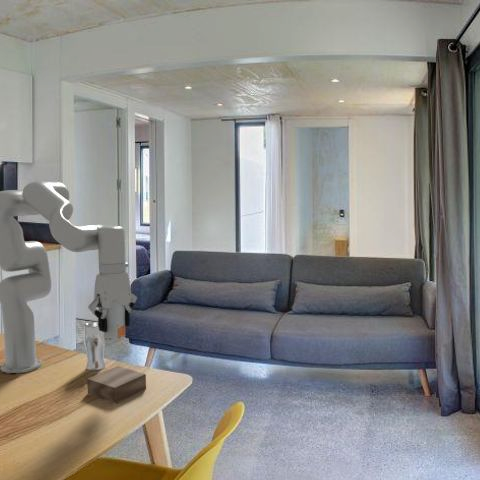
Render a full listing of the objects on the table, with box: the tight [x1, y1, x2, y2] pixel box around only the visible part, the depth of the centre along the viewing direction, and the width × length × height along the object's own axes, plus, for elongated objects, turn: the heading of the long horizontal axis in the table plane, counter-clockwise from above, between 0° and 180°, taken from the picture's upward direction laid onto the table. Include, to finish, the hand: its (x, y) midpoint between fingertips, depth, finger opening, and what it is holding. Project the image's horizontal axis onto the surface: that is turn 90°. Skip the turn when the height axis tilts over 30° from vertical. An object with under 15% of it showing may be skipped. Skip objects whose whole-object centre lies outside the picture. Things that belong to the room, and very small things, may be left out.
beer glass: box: [83, 321, 106, 372], centre depth 163 cm, size 7×7×15 cm
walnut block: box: [86, 365, 147, 404], centre depth 144 cm, size 12×12×5 cm
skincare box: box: [104, 300, 126, 343], centre depth 142 cm, size 6×4×12 cm
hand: (114, 327), depth 143 cm, fingers closed on skincare box, 7 cm apart
